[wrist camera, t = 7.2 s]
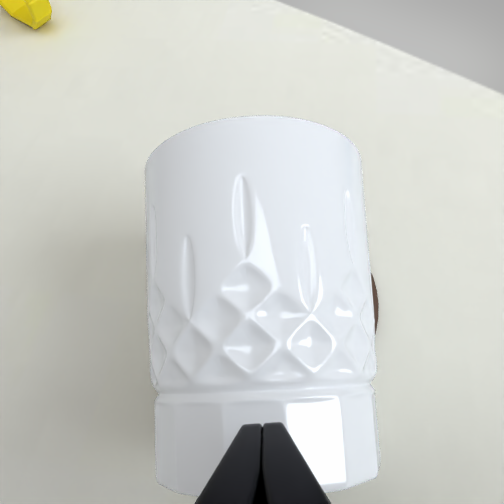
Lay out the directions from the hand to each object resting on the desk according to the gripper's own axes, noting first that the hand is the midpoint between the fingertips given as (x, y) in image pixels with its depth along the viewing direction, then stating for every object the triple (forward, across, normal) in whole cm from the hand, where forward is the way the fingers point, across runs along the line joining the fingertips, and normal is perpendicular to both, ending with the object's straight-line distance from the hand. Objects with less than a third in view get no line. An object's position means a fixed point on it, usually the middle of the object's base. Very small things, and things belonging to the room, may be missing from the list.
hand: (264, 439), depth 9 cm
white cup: (+3, 0, +4) cm, 5 cm away
